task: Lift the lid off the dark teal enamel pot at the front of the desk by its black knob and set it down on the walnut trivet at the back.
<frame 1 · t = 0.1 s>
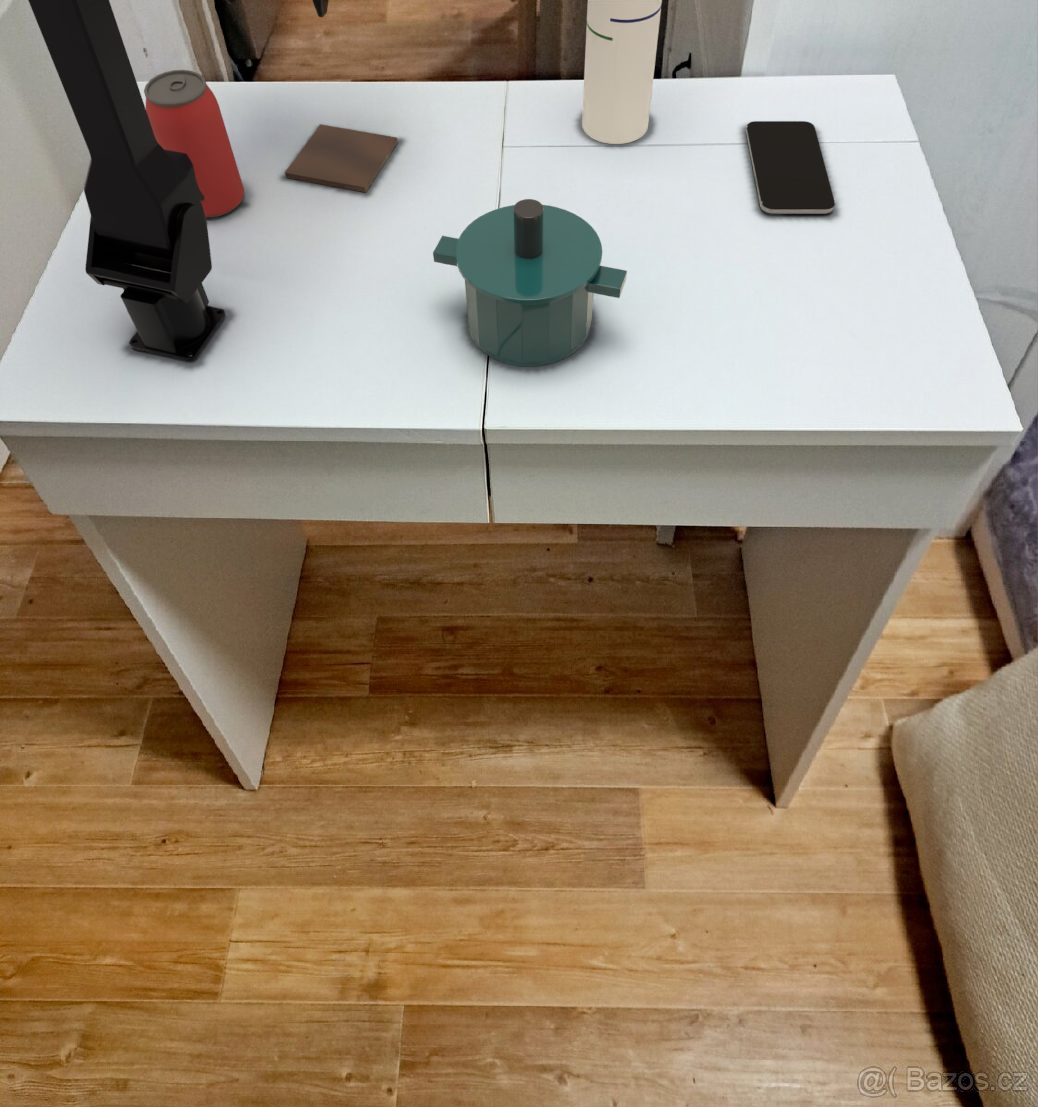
hand: (277, 8, 86), 15 cm above the table, tool pointing down, fingers open, 9 cm apart
lid: (528, 254, 77), point 7 cm above the table, touching pot
smartphone: (787, 170, 95), on the table
cylindrical container: (614, 126, 100), on the table
beer can: (213, 202, 94), on the table
trivet: (342, 159, 97), on the table
pot: (529, 322, 83), on the table
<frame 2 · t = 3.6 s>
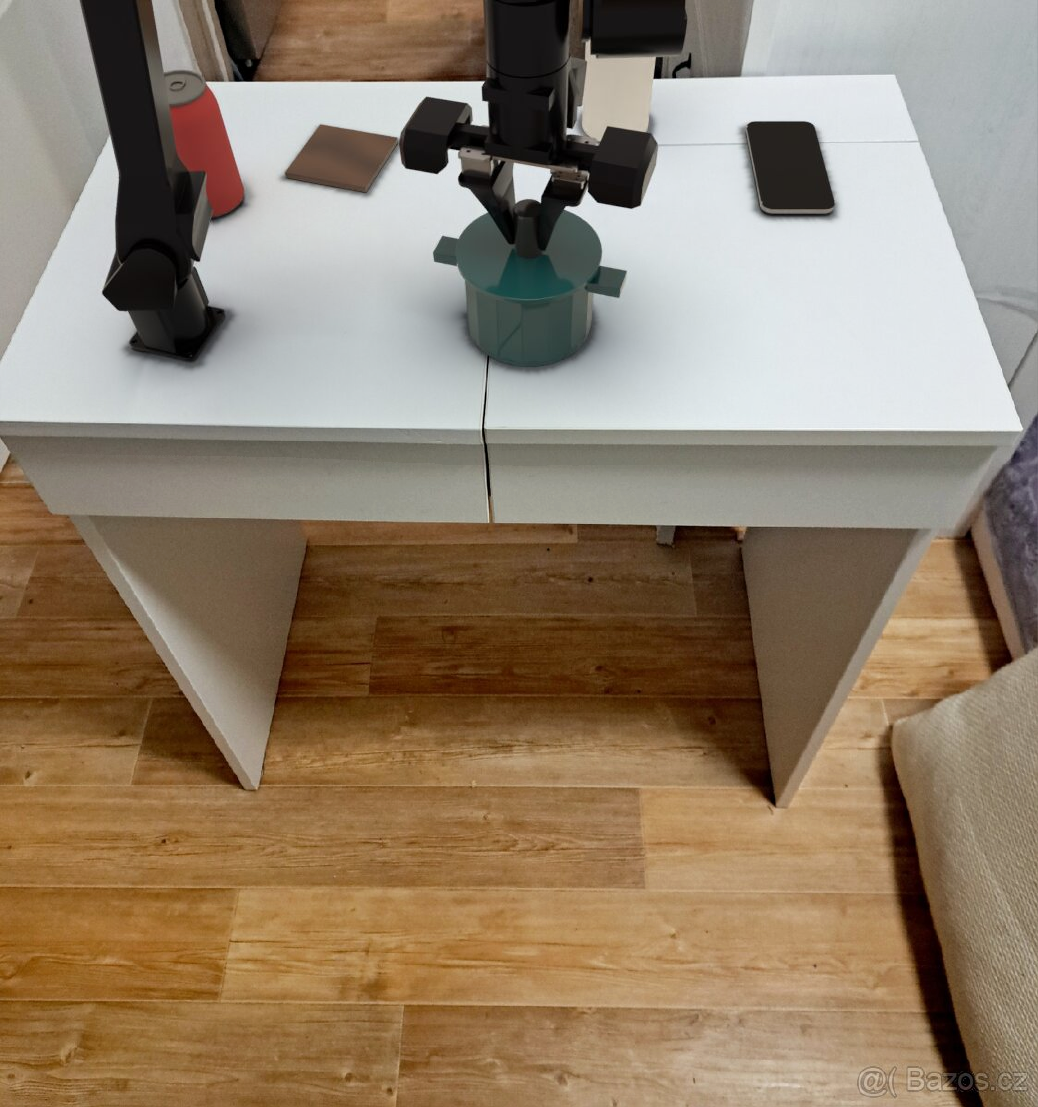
hand: (528, 244, 76), 9 cm above the table, tool pointing down, fingers closed on lid, 2 cm apart
lid: (528, 254, 77), point 8 cm above the table, touching gripper, pot
everything else where it was.
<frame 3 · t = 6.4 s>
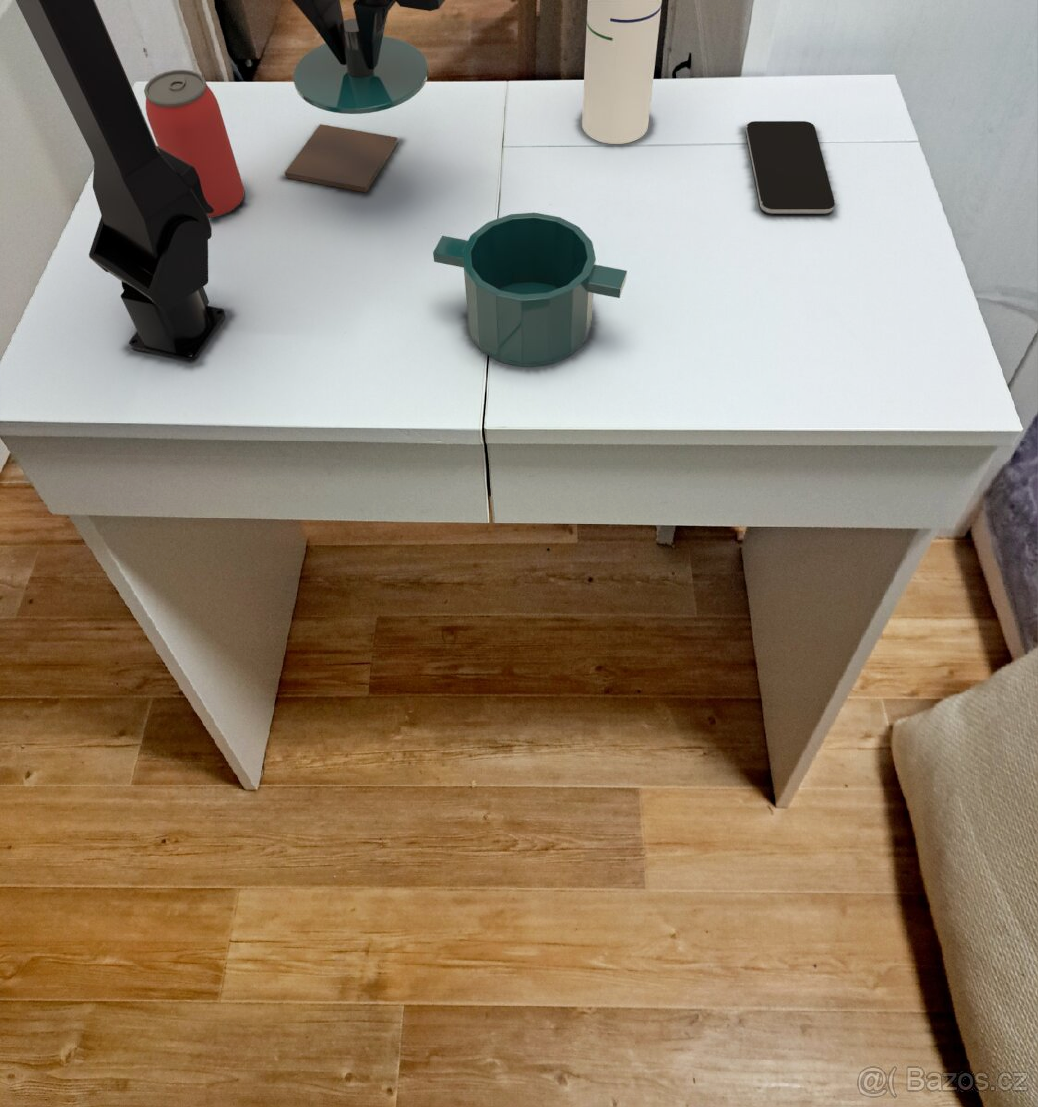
hand: (359, 65, 83), 13 cm above the table, tool pointing down, fingers closed on lid, 2 cm apart
lid: (361, 75, 84), point 12 cm above the table, touching gripper
everything else where it was.
when the fingers open (2 cm above the table, at t = 9.7 s): lid stays where it is, resting on trivet.
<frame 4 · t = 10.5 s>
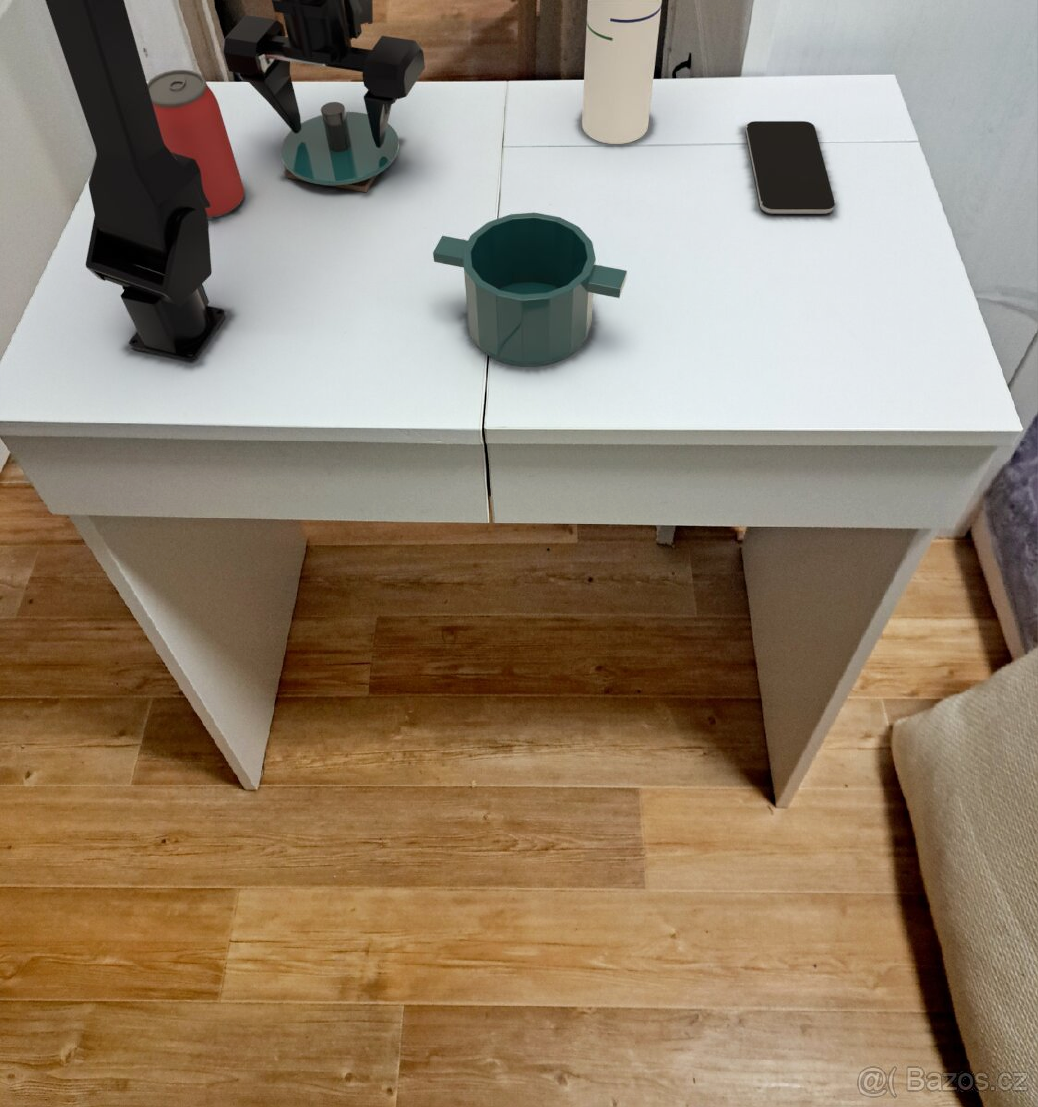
hand: (338, 138, 95), 2 cm above the table, tool pointing down, fingers open, 9 cm apart
lid: (340, 149, 96), point 1 cm above the table, touching trivet
everything else where it was.
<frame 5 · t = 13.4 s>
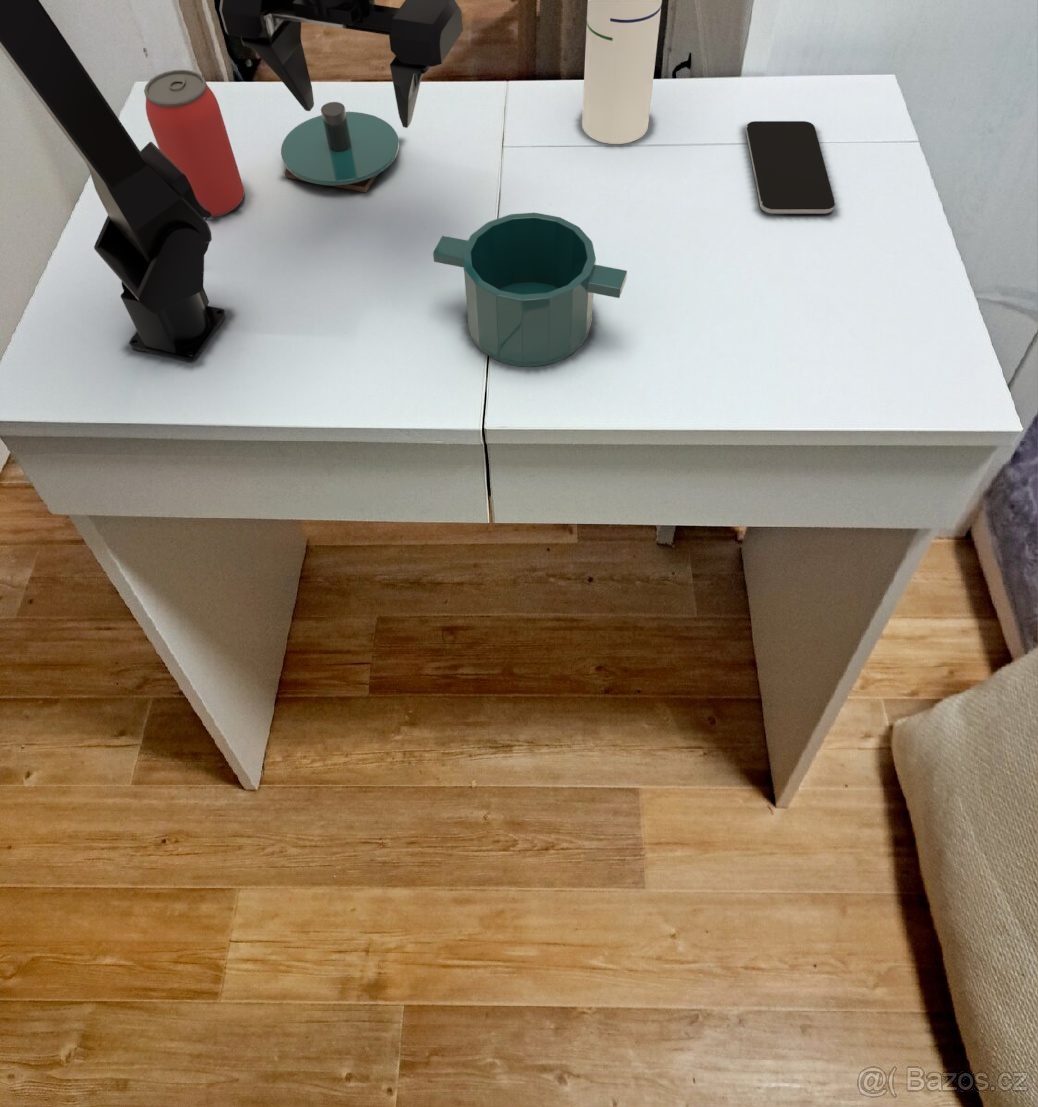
hand: (358, 116, 81), 12 cm above the table, tool pointing down, fingers open, 9 cm apart
nothing on the table moved.
at the end: lid 0.0 cm off-centre on the trivet, point 1.2 cm above the trivet's base; lid tilted 0° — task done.
